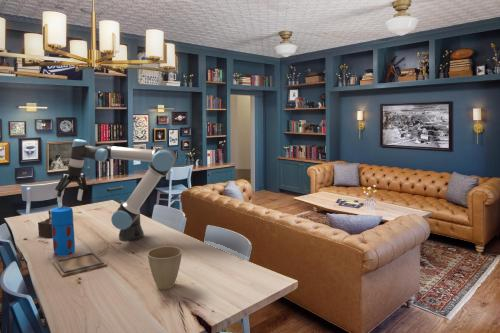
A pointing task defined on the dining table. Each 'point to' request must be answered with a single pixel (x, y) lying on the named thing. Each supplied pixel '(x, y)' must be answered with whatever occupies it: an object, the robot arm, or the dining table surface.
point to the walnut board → (79, 264)
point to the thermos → (63, 231)
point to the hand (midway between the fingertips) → (69, 201)
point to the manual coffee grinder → (46, 227)
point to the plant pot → (164, 265)
